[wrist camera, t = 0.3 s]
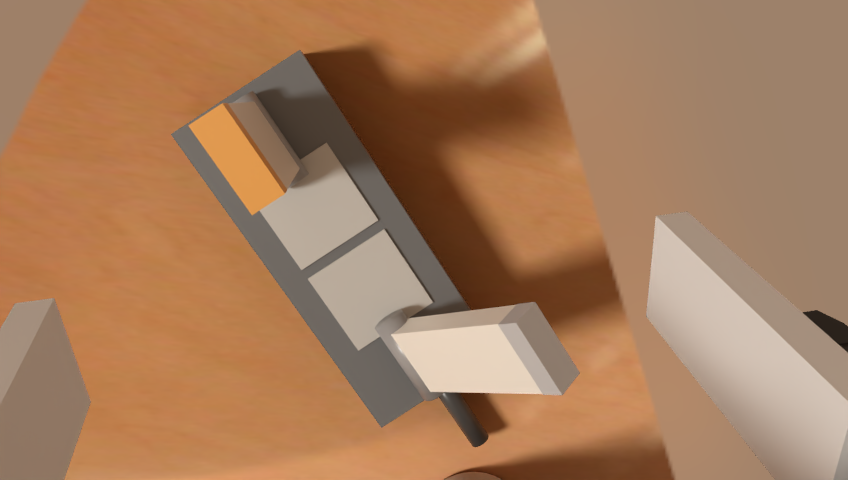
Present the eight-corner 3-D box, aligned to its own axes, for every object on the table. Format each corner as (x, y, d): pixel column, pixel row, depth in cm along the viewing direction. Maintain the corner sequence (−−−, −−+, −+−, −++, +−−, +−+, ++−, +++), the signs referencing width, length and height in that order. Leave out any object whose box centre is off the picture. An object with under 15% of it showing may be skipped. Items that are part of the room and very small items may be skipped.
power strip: (528, 398, 48) (546, 426, 44) (424, 465, 48) (432, 499, 44) (303, 54, 42) (299, 49, 38) (186, 130, 42) (170, 134, 38)
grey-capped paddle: (437, 379, 43) (587, 379, 33) (417, 400, 42) (566, 406, 32) (390, 311, 42) (531, 290, 32) (369, 330, 41) (508, 315, 31)
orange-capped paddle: (310, 171, 39) (295, 202, 28) (281, 190, 39) (256, 228, 28) (255, 90, 38) (217, 89, 27) (226, 110, 38) (176, 115, 27)
